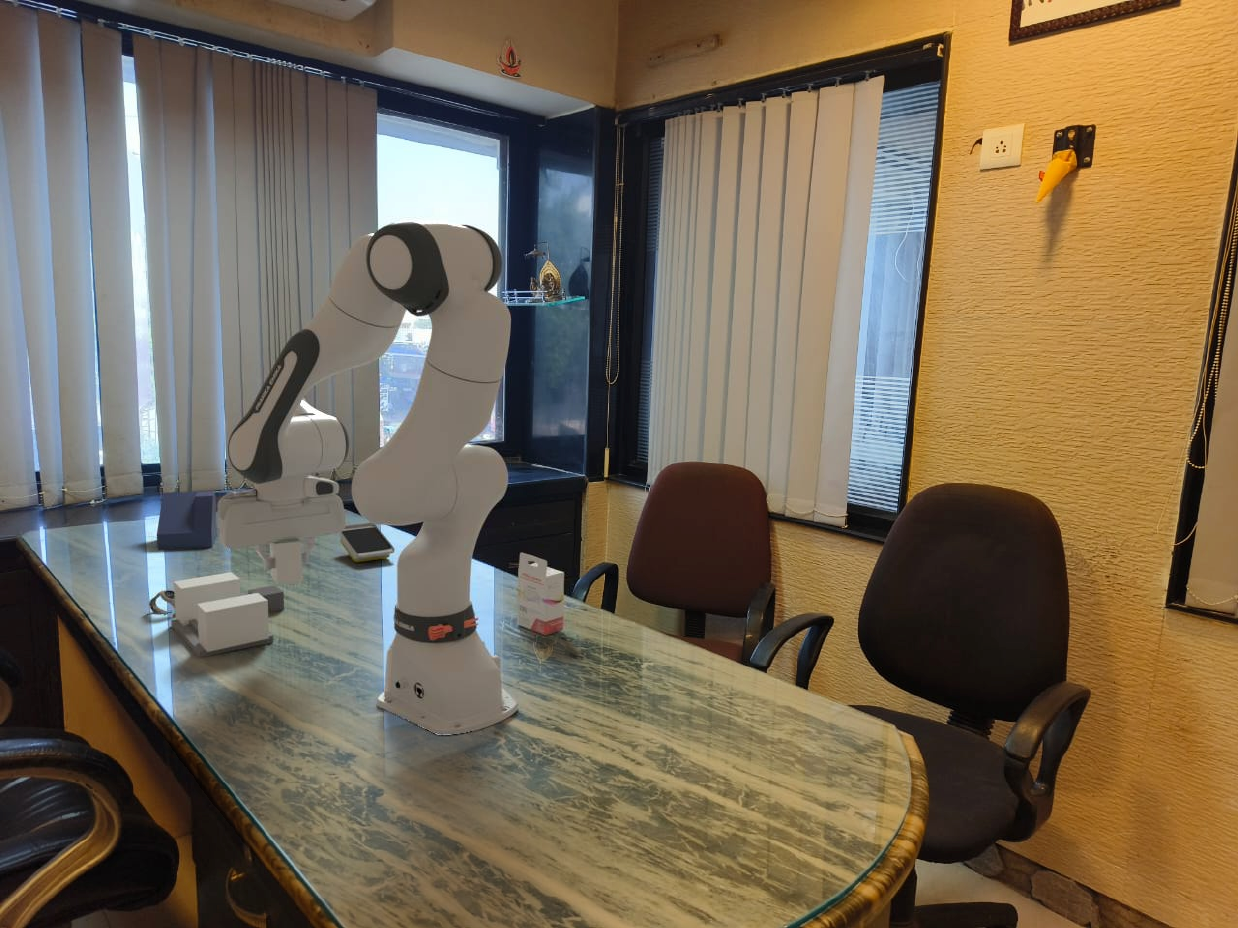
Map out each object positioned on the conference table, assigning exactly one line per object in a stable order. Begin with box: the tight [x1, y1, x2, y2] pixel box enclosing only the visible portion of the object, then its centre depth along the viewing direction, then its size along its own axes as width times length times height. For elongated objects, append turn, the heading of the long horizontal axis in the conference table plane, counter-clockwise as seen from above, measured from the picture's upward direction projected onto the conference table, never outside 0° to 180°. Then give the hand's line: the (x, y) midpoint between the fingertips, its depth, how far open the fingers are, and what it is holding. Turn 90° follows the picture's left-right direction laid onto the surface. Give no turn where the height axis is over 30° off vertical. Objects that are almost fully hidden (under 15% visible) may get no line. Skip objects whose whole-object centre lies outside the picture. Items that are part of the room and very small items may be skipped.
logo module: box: [269, 539, 304, 586], centre depth 136 cm, size 7×4×7 cm, turn 32°
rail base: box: [170, 572, 274, 658], centre depth 143 cm, size 20×12×8 cm, turn 43°
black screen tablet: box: [339, 522, 395, 563], centre depth 196 cm, size 9×4×15 cm
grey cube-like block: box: [247, 584, 285, 614], centre depth 157 cm, size 5×5×4 cm
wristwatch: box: [148, 589, 176, 617], centre depth 152 cm, size 4×6×5 cm, turn 78°
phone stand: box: [156, 490, 218, 551], centre depth 201 cm, size 12×12×12 cm
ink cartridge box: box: [516, 552, 565, 636], centre depth 153 cm, size 9×5×15 cm, turn 47°
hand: (286, 565), depth 136 cm, fingers closed on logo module, 4 cm apart
